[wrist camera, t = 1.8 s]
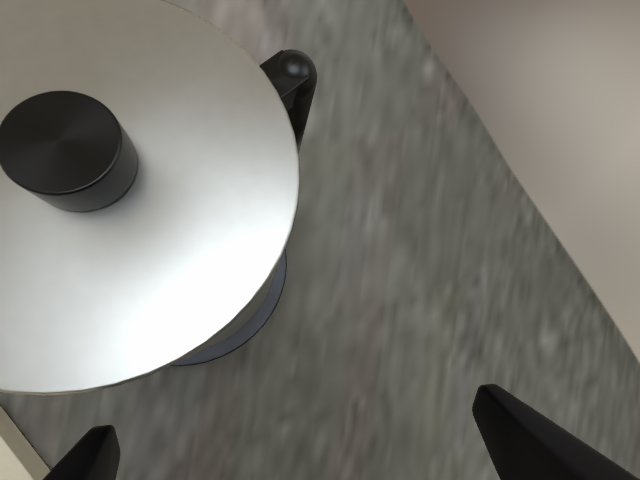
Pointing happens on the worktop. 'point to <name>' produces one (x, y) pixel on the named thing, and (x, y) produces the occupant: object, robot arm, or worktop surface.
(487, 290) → the worktop surface
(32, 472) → the knobbed lever stand
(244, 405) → the worktop surface
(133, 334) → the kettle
